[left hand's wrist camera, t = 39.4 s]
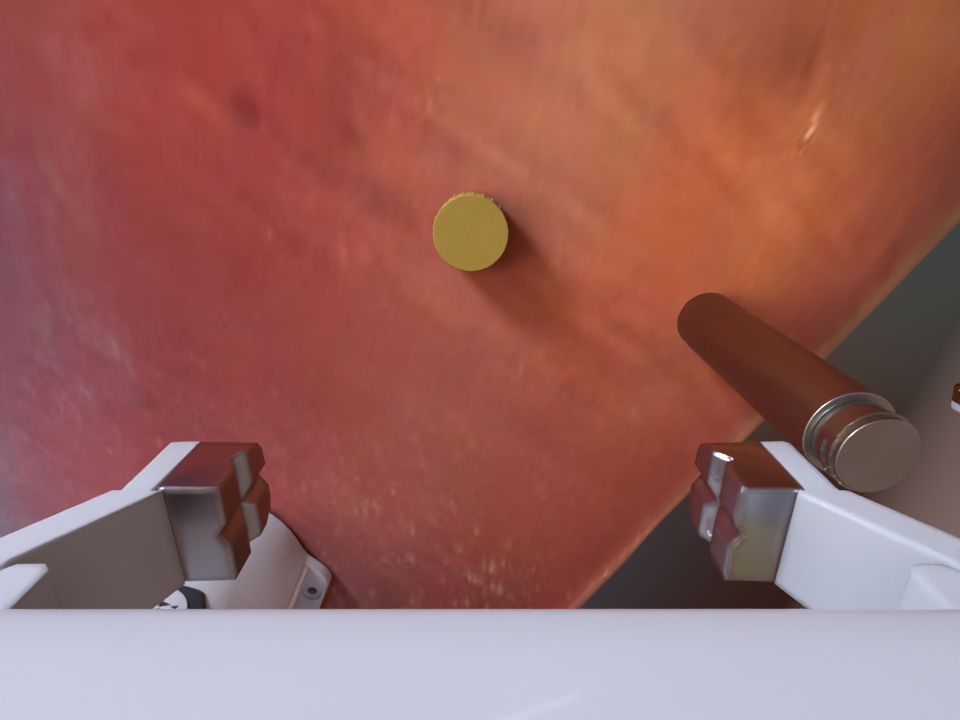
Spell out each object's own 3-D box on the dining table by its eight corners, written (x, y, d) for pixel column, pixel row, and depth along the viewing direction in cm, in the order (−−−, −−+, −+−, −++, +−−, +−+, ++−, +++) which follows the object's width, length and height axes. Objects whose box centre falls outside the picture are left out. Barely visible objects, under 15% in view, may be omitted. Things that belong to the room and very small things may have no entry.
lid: (473, 280, 40) (473, 287, 38) (419, 231, 38) (416, 236, 36) (522, 226, 38) (525, 231, 36) (468, 174, 37) (467, 176, 35)
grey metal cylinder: (665, 319, 41) (808, 456, 23) (712, 280, 40) (900, 393, 22) (699, 357, 42) (859, 515, 24) (745, 320, 41) (949, 458, 23)
